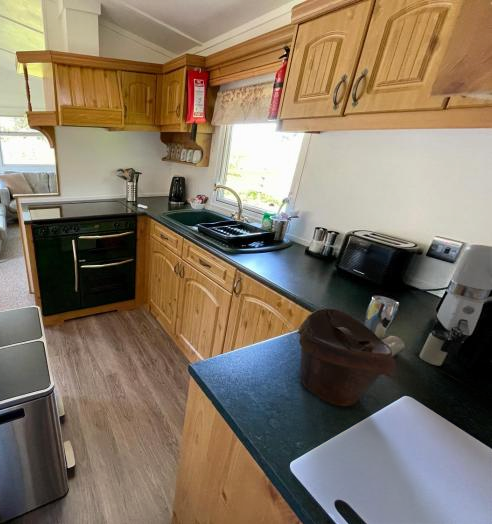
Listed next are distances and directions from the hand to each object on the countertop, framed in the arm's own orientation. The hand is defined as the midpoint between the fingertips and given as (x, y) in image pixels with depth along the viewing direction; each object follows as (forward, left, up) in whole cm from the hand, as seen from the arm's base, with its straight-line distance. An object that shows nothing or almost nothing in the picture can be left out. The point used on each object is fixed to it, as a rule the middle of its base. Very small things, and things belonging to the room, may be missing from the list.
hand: (441, 343), depth 84 cm
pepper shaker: (+1, 0, -6) cm, 6 cm away
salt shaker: (+10, +1, -4) cm, 11 cm away
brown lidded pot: (+27, +32, -6) cm, 43 cm away
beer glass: (+15, 0, -6) cm, 17 cm away
